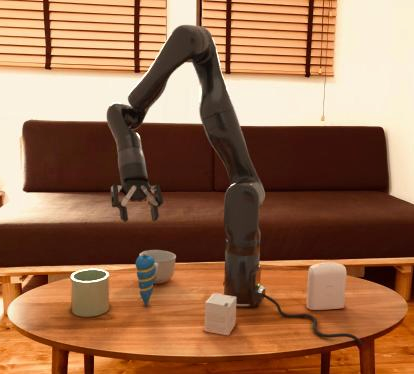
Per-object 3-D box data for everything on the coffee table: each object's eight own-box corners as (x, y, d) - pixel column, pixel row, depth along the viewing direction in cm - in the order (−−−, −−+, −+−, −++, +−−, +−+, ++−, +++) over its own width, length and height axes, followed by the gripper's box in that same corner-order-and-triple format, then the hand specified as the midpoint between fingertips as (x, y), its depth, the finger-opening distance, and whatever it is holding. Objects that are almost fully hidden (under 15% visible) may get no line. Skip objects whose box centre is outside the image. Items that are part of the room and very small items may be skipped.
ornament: (151, 311, 118) (151, 254, 115) (132, 308, 119) (132, 252, 116) (158, 303, 123) (158, 248, 120) (139, 300, 124) (139, 246, 121)
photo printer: (309, 311, 121) (312, 266, 119) (303, 304, 125) (306, 260, 123) (346, 309, 123) (350, 265, 120) (339, 303, 127) (343, 259, 125)
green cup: (115, 304, 121) (115, 272, 120) (95, 319, 113) (95, 284, 111) (85, 299, 124) (85, 266, 122) (63, 312, 115) (62, 278, 114)
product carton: (212, 320, 114) (213, 292, 113) (235, 324, 112) (237, 296, 111) (203, 331, 108) (204, 302, 107) (228, 336, 106) (229, 306, 105)
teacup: (145, 272, 145) (145, 247, 144) (179, 275, 144) (179, 250, 142) (130, 289, 131) (130, 262, 130) (168, 292, 130) (168, 265, 129)
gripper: (112, 160, 125) (120, 216, 119) (160, 162, 132) (170, 215, 127) (103, 171, 131) (111, 226, 125) (150, 173, 138) (159, 224, 133)
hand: (140, 220), depth 126 cm, fingers open, 8 cm apart
